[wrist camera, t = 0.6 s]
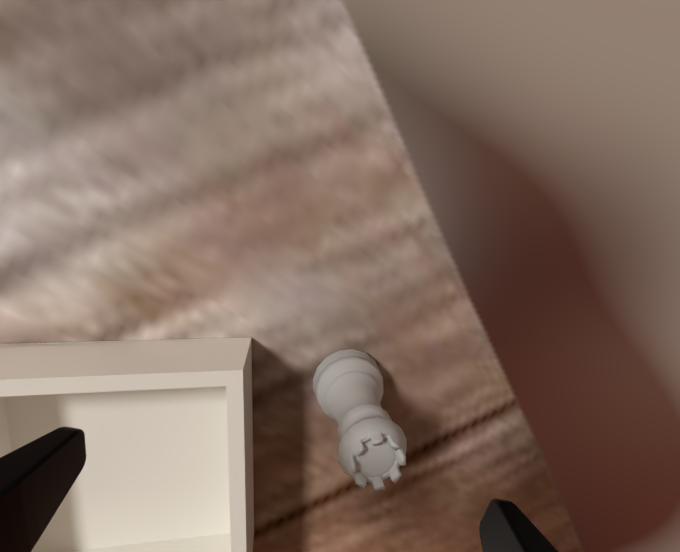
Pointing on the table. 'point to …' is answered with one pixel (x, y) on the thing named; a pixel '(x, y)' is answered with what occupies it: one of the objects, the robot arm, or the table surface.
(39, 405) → the white square tray
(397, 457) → the rook chess piece
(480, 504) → the table surface
